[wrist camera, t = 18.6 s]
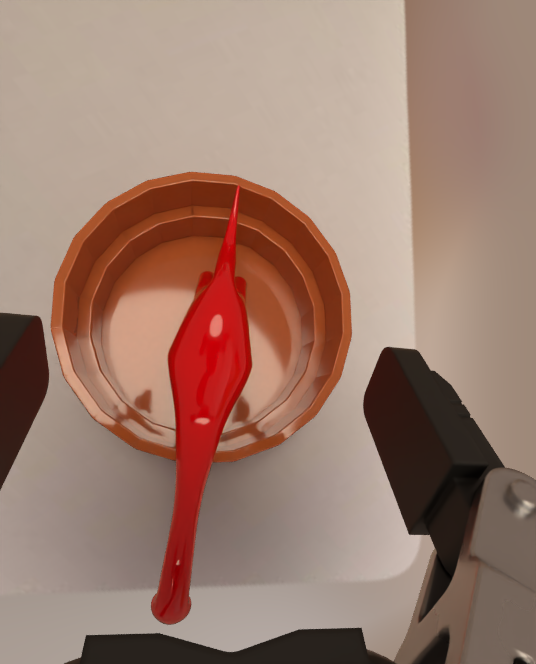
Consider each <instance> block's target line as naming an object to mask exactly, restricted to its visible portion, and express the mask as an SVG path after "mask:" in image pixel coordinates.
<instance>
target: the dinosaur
mask: <svg viewBox="0 0 536 664" xmlns="http://www.w3.org/2000/svg"><path fill="white" fill-rule="evenodd" d="M239 194H240V186H239V185H238V186H237V189H236V193H235V197H234V201H233V205H232V209H231V213H230V217H229V221H228V225H227V229H226V233H225V236H224V239H223V243H222V246H221V249H220V251H219V254H218V257H217V261H216V265H215V270H214V273H213V272H211V271H204V272H202V273H201V274H200V275H199V277H198V282H197V286H196V290H195V295H194V299H193V302H192V303H191V305H190V307H189V309H188V311H187V313H186V315H185V317H184V319H183V321H182V323H181V325H180V327H179V329H178V331H177V333H176V335H175V338H174V340H173V342H172V344H171V346H170V349H169V351H168V355H167V365H168V375H169V381H170V387H171V392H172V398H173V404H174V413H175V438H176V484H175V497H174V507H173V515H172V521H171V526H170V531H169V536H168V542H167V547H166V551H165V556H164V561H163V566H162V571H161V575H160V581H159V586H158V591H157V594H155V596H154V597H153V599H152V602H151V610H152V613H153V615H154V617H155V618H156V619H157V620H158V621H160V622H161V623H163V624H168V625H171V624H176V623H178V622H180V621H182V620H183V619H184V618H185V617H186V616H187V615H188V613H189V611H190V609H191V599H190V597H189V590H190V582H191V574H192V565H193V557H194V548H195V540H196V532H197V524H198V517H199V511H200V507H201V502H202V498H203V493H204V489H205V486H206V482H207V479H208V475H209V472H210V469H211V465H212V462H213V459H214V456H215V453H216V450H217V447H218V444H219V441H220V438H221V435H222V432H223V429H224V427H225V424H226V422H227V419H228V417H229V415H230V413H231V411H232V409H233V407H234V406H235V404H236V402H237V400H238V399H239V397H240V395H241V393H242V391H243V389H244V387H245V385H246V383H247V381H248V378H249V376H250V373H251V370H252V354H251V343H250V333H249V323H248V315H247V309H246V296H247V282H246V280H245V279H244V278H243V277H240V276H236V277H235V270H236V231H237V218H238V206H239Z"/></svg>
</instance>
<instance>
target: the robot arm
mask: <svg viewBox="0 0 536 664" xmlns="http://www.w3.org/2000/svg"><path fill="white" fill-rule="evenodd" d="M48 382H49V368H48V361H47V354H46V347H45V339H44V332H43V325H42V321H41V319H40V317H38V316H32V315H21V314H10V313H0V490H1V488H2V485H3V483H4V481H5V479H6V477H7V475H8V473H9V471H10V469H11V467H12V465H13V463H14V461H15V459H16V456H17V454H18V452H19V450H20V448H21V446H22V444H23V442H24V440H25V438H26V436H27V434H28V432H29V429H30V427H31V425H32V423H33V421H34V419H35V417H36V415H37V413H38V411H39V409H40V407H41V405H42V403H43V400H44V398H45V396H46V392H47V388H48ZM461 402H462V401H461V400H460V398H459V396H458V395H457V393H456V392H455V390H454V389H453V387H452V386H451V385H450V384H449V383H448V382H447V381H446V380H445V379H443V378H442V377H441V376H440V375H439V374H438V373H436V372H435V371H431V370H430V369H429V367H428V366H427V364H426V362H425V361H424V359H423V357H422V356H421V354H420V353H419V352H418V351H417V350H415V349H404V348H393V347H386V348H384V349H383V350H382V352H381V354H380V356H379V359H378V361H377V364H376V367H375V369H374V372H373V374H372V377H371V379H370V382H369V384H368V387H367V389H366V392H365V395H364V402H363V408H364V415H365V418H366V421H367V424H368V426H369V429H370V432H371V434H372V437H373V440H374V442H375V445H376V448H377V450H378V453H379V456H380V458H381V461H382V464H383V466H384V469H385V472H386V474H387V477H388V480H389V482H390V485H391V488H392V490H393V493H394V496H395V498H396V501H397V503H398V506H399V509H400V511H401V514H402V517H403V519H404V522H405V525H406V527H407V530H408V533H409V535H430V537H431V539H432V542H433V544H434V546H435V549H434V550H433V552H432V554H431V557H430V560H429V564H428V567H427V570H426V573H425V577H424V580H423V583H422V587H421V590H420V593H419V597H418V600H417V603H416V607H415V610H414V613H413V616H412V620H411V623H410V626H409V629H408V632H407V634H406V637H405V639H404V641H403V643H402V645H401V647H400V649H399V651H398V653H397V655H396V657H395V659H394V662H393V661H391V660H389V659H388V658H386V657H384V656H381V655H379V654H377V653H375V652H373V651H370V650H367V649H366V645H365V642H364V637H363V633H362V628H340V629H304V630H303V629H302V630H297V631H294V632H291V633H288V634H285V635H282V636H280V637H277V638H274V639H271V640H269V641H266V642H263V643H260V644H257V645H254V646H252V647H249V648H246V649H243V650H240V651H237V652H225V651H221V650H217V649H213V648H210V647H206V646H203V645H199V644H196V643H192V642H189V641H185V640H181V639H178V638H174V637H170V636H167V635H163V634H160V633H155V634H121V635H120V634H118V635H86V639H85V643H84V647H83V652H82V656H81V658H78V659H75V660H72V661H69V662H67V663H64V664H536V480H535V479H533V478H532V477H530V476H528V475H526V474H524V473H522V472H520V471H517V470H514V469H510V468H505V467H504V465H503V464H502V462H501V461H500V459H499V458H498V456H497V454H496V453H495V451H494V450H493V448H492V447H491V445H490V444H489V442H488V441H487V439H486V438H485V436H484V435H483V433H482V432H481V430H480V428H479V427H478V425H477V424H476V422H475V421H474V419H473V418H470V413H469V412H468V410H467V409H466V407H465V406H464V405H462V404H461Z"/></svg>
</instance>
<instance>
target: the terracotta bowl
mask: <svg viewBox="0 0 536 664" xmlns="http://www.w3.org/2000/svg"><path fill="white" fill-rule="evenodd" d="M238 185H239V186H240V194H239V206H238V218H237V231H236V270H235V277H236V276H240V277H243V278H244V279H245V280H246V282H247V296H246V309H247V315H248V323H249V333H250V343H251V354H252V370H251V373H250V376H249V378H248V381H247V383H246V385H245V387H244V389H243V391H242V393H241V395H240V397H239V399H238V400H237V402H236V404H235V406H234V407H233V409H232V411H231V413H230V415H229V417H228V419H227V422H226V424H225V427H224V429H223V432H222V435H221V438H220V441H219V444H218V447H217V450H216V453H215V456H214V459H213V462H212V463H214V462H233V461H237V460H240V459H243V458H246V457H248V456H251V455H254V454H256V453H259V452H262V451H264V450H267V449H270V448H273V447H275V446H278V445H279V444H281V443H283V442H284V441H285V440H286V439H288V438H289V437H290V436H291V435H293V434H294V433H295V432H296V431H298V430H299V429H300V428H301V427H303V426H304V425H305V424H306V423H308V422H309V421H310V420H311V419H312V418H314V417H315V415H317V413H318V412H319V410H320V409H321V407H322V406H323V404H324V403H325V401H326V400H327V398H328V396H329V395H330V393H331V392H332V390H333V389H334V387H335V386H336V384H337V383H338V381H339V380H340V377H341V375H342V371H343V367H344V364H345V360H346V356H347V352H348V349H349V345H350V341H351V337H352V336H351V335H352V327H351V305H350V293H349V292H350V291H349V289H348V286H347V283H346V280H345V277H344V275H343V272H342V269H341V266H340V264H339V261H338V258H337V255H336V253H335V251H334V250H333V248H332V247H331V246H330V244H329V243H328V242H327V240H326V239H325V237H324V236H323V235H322V233H321V232H320V231H319V229H318V228H317V227H316V225H315V224H314V223H313V221H312V220H311V219H309V217H308V216H307V215H306V214H304V213H303V212H302V211H300V210H299V209H298V208H296V207H295V206H294V205H292V204H291V203H290V202H289V201H287V200H286V199H285V198H283V197H282V196H281V195H279V194H278V193H277V192H275V191H273V190H270V189H268V188H265V187H262V186H260V185H257V184H255V183H252V182H250V181H247V180H244V179H242V178H239V177H237V176H232V175H221V174H209V173H198V172H187V173H182V174H177V175H172V176H167V177H162V178H157V179H152V180H147V182H146V181H145V182H143V183H141V184H139V185H138V186H136V187H134V188H132V189H130V190H129V191H127V192H125V193H123V194H121V195H119V196H118V197H116V198H114V199H112V200H110V201H108V202H107V204H104V206H103V207H102V208H101V209H100V210H99V211H98V212H97V213H96V214H95V215H94V216H93V217H92V218H91V219H90V220H89V222H88V223H87V224H86V225H85V226H84V227H83V228H82V229H81V230H80V231H79V232H78V233H77V234H76V235H75V237H74V238H73V240H72V243H71V245H70V247H69V249H68V251H67V254H66V256H65V258H64V260H63V263H62V265H61V267H60V269H59V271H58V274H57V276H56V278H55V281H54V292H53V305H52V317H51V332H52V336H53V340H54V343H55V347H56V351H57V354H58V358H59V362H60V365H61V369H62V373H63V376H64V378H65V380H66V381H67V383H68V384H69V385H70V387H71V388H72V390H73V391H74V393H75V394H76V395H77V397H78V398H79V400H80V401H81V403H82V404H83V405H84V407H85V408H86V410H87V411H88V413H89V414H90V415H91V417H92V418H93V419H94V420H95V421H97V422H98V423H100V424H101V425H102V426H104V427H105V428H106V429H108V430H109V431H111V432H112V433H113V434H115V435H116V436H118V437H119V438H120V439H122V440H123V441H125V442H126V443H127V444H129V445H130V446H132V447H133V448H135V449H137V450H141V451H144V452H147V453H151V454H154V455H157V456H161V457H164V458H167V459H170V460H174V461H176V438H175V413H174V404H173V398H172V392H171V387H170V381H169V375H168V365H167V355H168V351H169V349H170V346H171V344H172V342H173V340H174V338H175V335H176V333H177V331H178V329H179V327H180V325H181V323H182V321H183V319H184V317H185V315H186V313H187V311H188V309H189V307H190V305H191V303H192V302H193V299H194V295H195V290H196V286H197V282H198V277H199V275H200V274H201V273H202V272H204V271H211V272H213V273H214V270H215V265H216V261H217V257H218V254H219V251H220V249H221V246H222V243H223V239H224V236H225V233H226V229H227V225H228V221H229V217H230V213H231V209H232V205H233V201H234V197H235V193H236V189H237V186H238Z"/></svg>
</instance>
